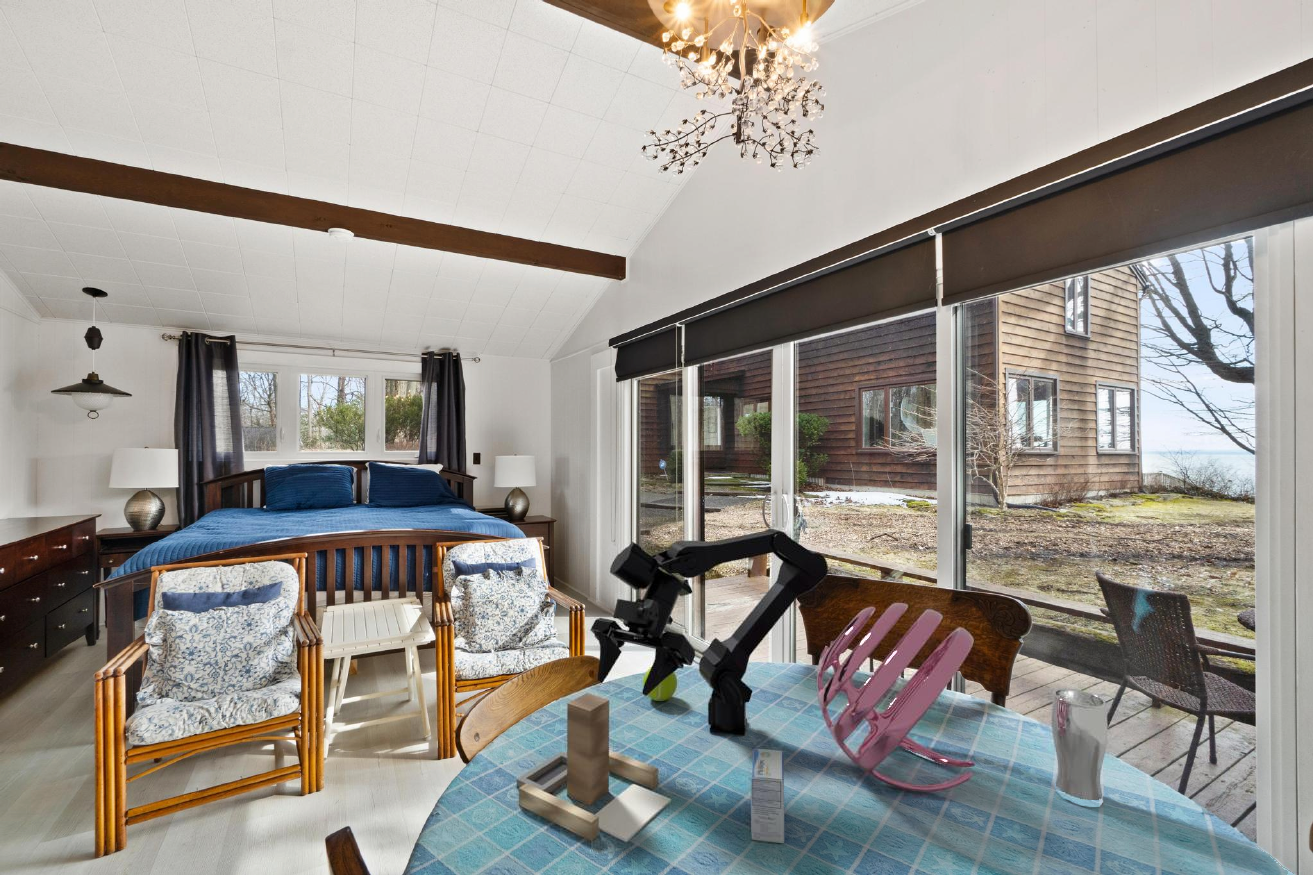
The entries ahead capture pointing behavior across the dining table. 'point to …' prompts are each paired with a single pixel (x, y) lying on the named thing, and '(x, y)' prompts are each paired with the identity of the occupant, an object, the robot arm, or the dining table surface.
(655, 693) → the tennis ball
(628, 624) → the robot arm
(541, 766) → the tray
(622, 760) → the channel
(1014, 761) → the dining table surface
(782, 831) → the medicine box
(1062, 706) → the beer glass
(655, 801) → the pad
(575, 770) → the walnut block
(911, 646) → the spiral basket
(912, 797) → the dining table surface
